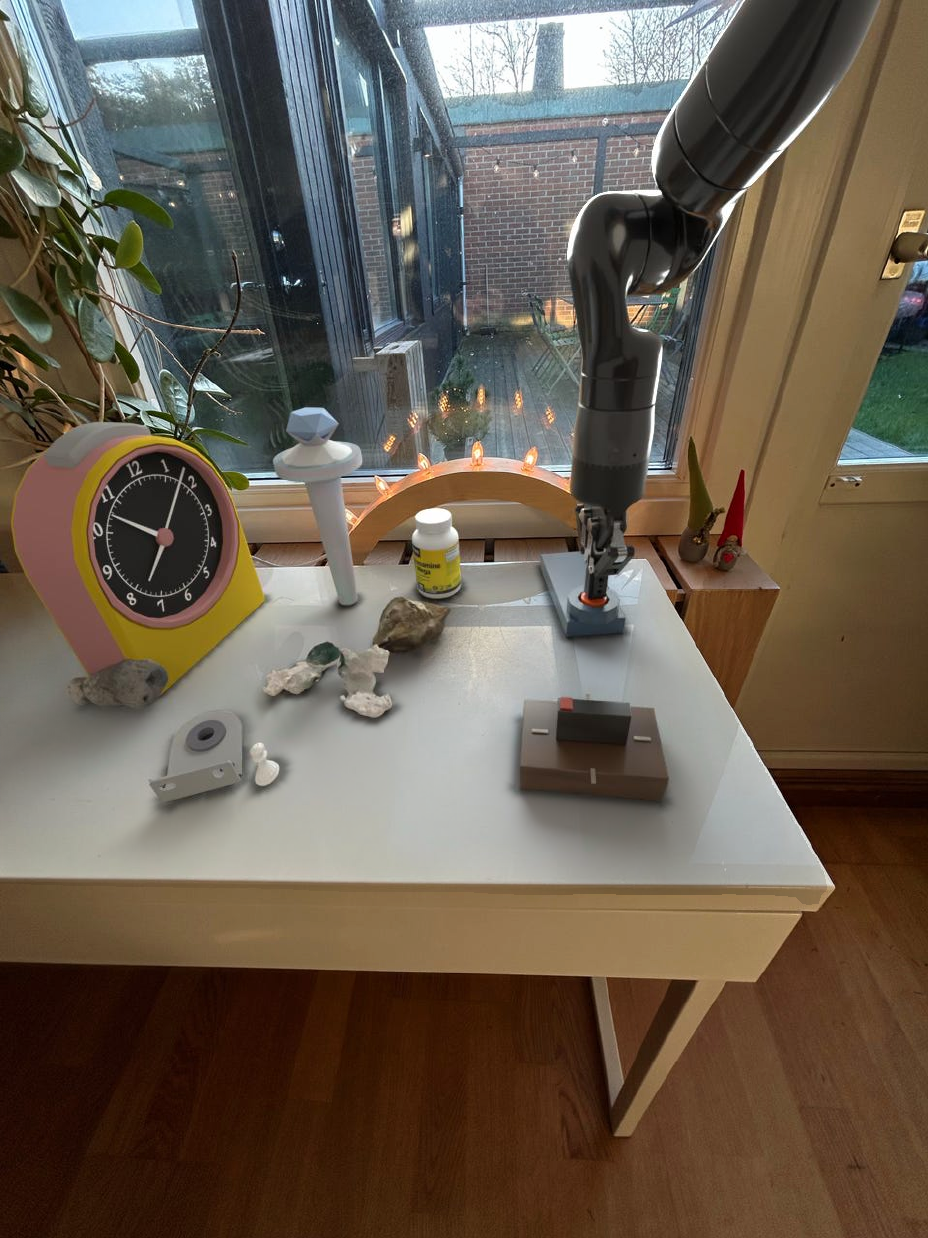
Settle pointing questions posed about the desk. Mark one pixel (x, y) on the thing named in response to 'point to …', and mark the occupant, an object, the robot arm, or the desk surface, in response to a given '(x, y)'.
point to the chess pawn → (263, 765)
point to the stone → (120, 684)
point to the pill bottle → (436, 554)
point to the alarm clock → (133, 547)
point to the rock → (349, 668)
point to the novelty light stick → (324, 487)
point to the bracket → (202, 756)
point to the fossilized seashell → (409, 625)
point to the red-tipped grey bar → (593, 721)
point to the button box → (578, 597)
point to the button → (592, 601)
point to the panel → (592, 757)
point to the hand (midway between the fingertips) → (594, 595)
